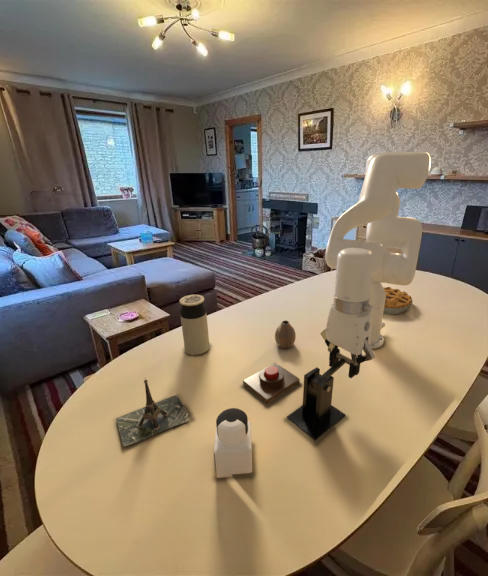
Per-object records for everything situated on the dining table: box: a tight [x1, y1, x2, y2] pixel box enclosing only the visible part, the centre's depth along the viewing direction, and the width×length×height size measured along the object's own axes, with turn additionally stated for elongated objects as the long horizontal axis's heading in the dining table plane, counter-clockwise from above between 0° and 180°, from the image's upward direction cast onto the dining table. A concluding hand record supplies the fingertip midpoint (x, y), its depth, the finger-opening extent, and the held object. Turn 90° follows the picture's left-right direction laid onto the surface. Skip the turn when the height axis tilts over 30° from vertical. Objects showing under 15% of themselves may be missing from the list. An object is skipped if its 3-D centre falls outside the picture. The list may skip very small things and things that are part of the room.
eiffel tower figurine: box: [116, 378, 191, 447], centre depth 71 cm, size 15×10×13 cm
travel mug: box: [178, 294, 210, 356], centre depth 98 cm, size 8×8×18 cm
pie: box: [383, 286, 413, 315], centre depth 132 cm, size 22×22×5 cm
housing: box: [242, 362, 301, 404], centre depth 84 cm, size 12×10×4 cm
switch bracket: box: [286, 366, 346, 442], centre depth 71 cm, size 11×9×13 cm
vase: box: [274, 320, 297, 349], centre depth 102 cm, size 7×7×9 cm
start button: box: [264, 365, 278, 379], centre depth 83 cm, size 4×4×2 cm
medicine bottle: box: [213, 407, 253, 479], centre depth 61 cm, size 7×7×12 cm
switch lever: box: [311, 352, 352, 391], centre depth 72 cm, size 12×5×2 cm, turn 132°
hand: (343, 369), depth 76 cm, fingers closed on switch lever, 5 cm apart
